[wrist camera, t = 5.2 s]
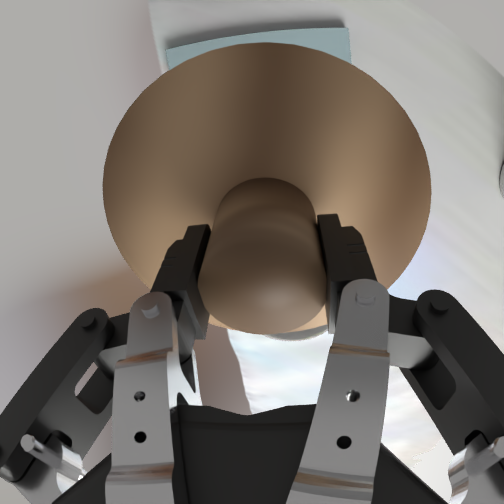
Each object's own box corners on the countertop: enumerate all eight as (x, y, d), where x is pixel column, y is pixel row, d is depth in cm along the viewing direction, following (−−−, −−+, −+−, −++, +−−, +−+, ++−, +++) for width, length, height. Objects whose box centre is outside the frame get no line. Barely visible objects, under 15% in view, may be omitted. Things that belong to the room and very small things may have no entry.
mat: (345, 28, 22) (348, 27, 22) (353, 183, 32) (355, 187, 31) (168, 49, 24) (165, 49, 24) (201, 197, 34) (199, 202, 33)
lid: (427, 41, 9) (506, 54, 5) (400, 307, 17) (423, 381, 13) (75, 88, 11) (-6, 126, 7) (164, 323, 19) (144, 394, 15)
